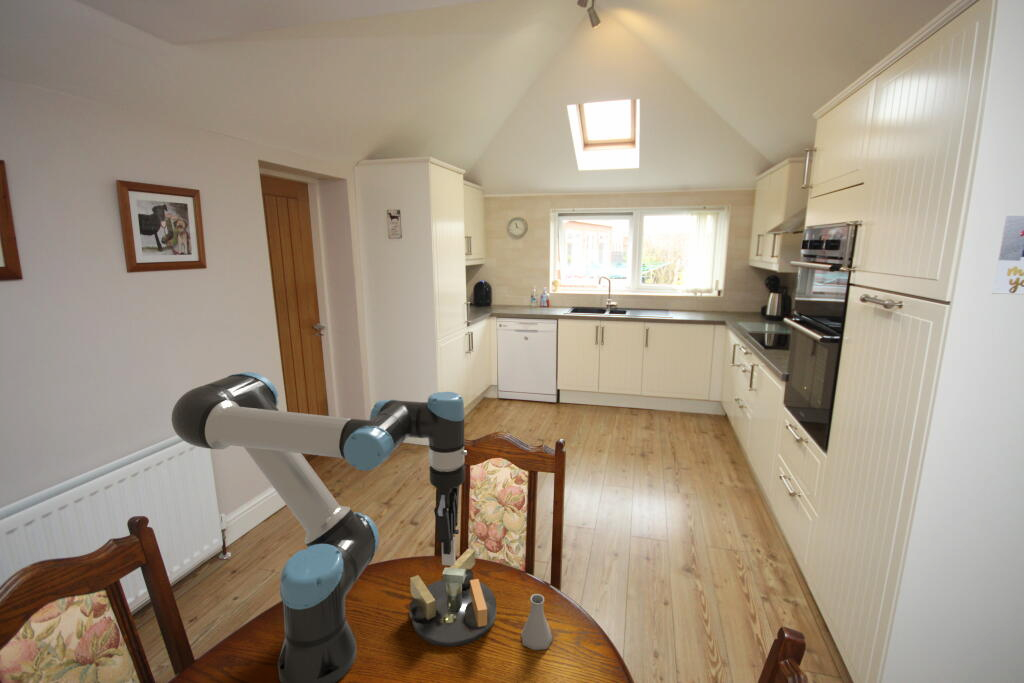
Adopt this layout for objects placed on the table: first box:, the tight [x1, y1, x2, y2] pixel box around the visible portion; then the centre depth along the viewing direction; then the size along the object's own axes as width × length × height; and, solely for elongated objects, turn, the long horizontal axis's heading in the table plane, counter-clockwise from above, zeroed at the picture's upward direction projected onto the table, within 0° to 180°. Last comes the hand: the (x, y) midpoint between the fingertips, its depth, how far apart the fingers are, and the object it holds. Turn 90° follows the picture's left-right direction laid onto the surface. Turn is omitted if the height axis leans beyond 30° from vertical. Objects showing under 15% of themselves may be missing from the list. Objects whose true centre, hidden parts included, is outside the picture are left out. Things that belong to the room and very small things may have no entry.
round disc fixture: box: [409, 547, 497, 648], centre depth 113 cm, size 20×22×11 cm
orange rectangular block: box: [465, 578, 491, 629], centre depth 108 cm, size 10×6×6 cm, turn 15°
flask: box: [520, 593, 554, 651], centre depth 105 cm, size 7×7×10 cm
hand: (448, 563), depth 106 cm, fingers closed
